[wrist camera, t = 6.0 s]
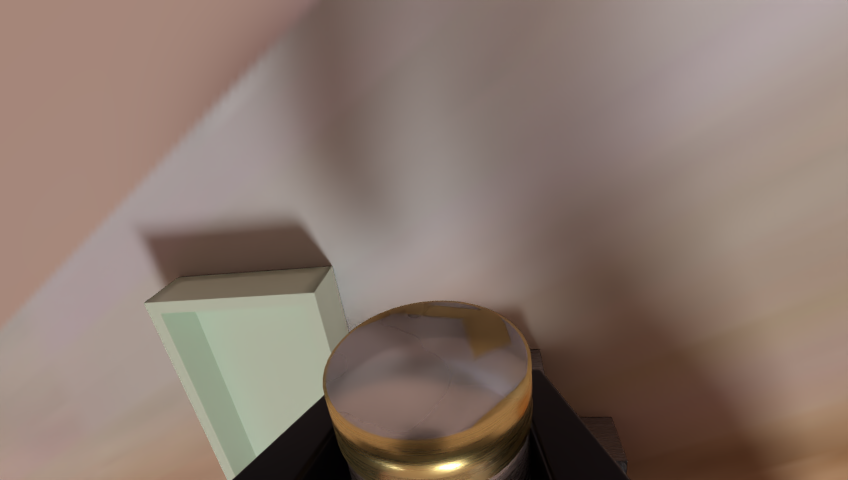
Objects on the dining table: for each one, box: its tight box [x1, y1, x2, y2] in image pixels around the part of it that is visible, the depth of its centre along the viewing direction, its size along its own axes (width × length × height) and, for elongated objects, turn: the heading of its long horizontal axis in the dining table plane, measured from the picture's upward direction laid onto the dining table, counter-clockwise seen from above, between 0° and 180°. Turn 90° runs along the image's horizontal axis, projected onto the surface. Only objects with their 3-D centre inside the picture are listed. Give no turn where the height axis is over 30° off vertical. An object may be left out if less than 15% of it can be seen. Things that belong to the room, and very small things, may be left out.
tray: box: [144, 266, 349, 480], centre depth 22 cm, size 16×8×2 cm, turn 8°
